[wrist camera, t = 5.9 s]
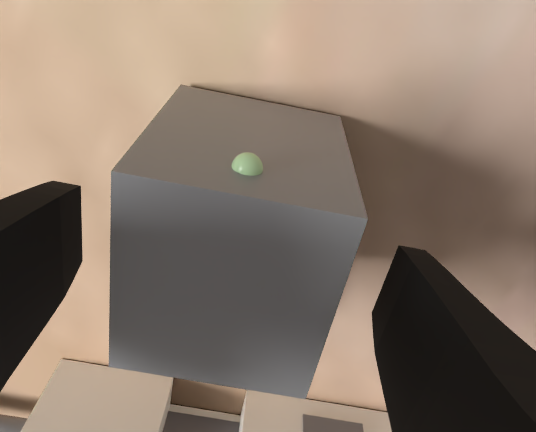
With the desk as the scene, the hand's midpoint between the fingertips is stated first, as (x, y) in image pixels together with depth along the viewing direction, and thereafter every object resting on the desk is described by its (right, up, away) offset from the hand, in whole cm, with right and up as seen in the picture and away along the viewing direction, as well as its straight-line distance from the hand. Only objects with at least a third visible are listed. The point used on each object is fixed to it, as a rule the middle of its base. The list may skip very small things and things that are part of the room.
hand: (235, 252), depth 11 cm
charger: (0, +2, +3) cm, 4 cm away
